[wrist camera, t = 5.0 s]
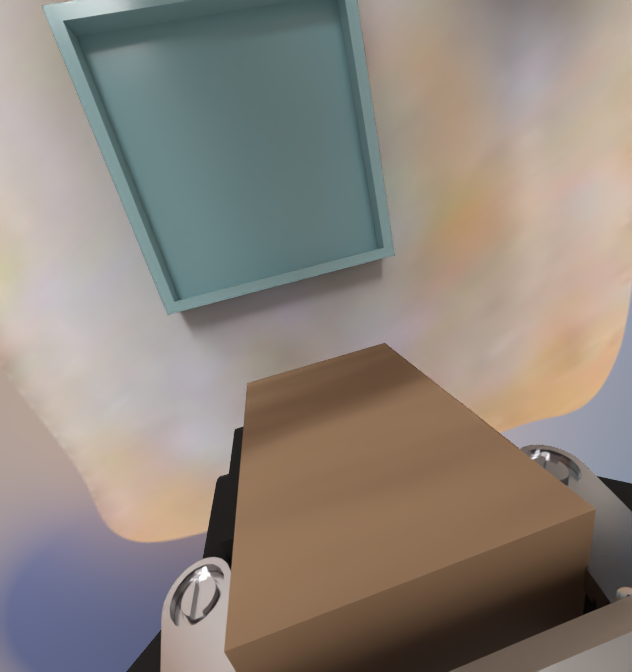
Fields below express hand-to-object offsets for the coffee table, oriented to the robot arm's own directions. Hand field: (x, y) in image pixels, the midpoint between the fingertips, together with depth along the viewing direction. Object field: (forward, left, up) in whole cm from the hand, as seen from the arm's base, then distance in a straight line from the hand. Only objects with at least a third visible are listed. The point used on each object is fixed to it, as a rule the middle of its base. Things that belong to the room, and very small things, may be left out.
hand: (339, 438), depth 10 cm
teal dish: (-11, 0, -11) cm, 16 cm away
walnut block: (0, 0, -1) cm, 1 cm away
